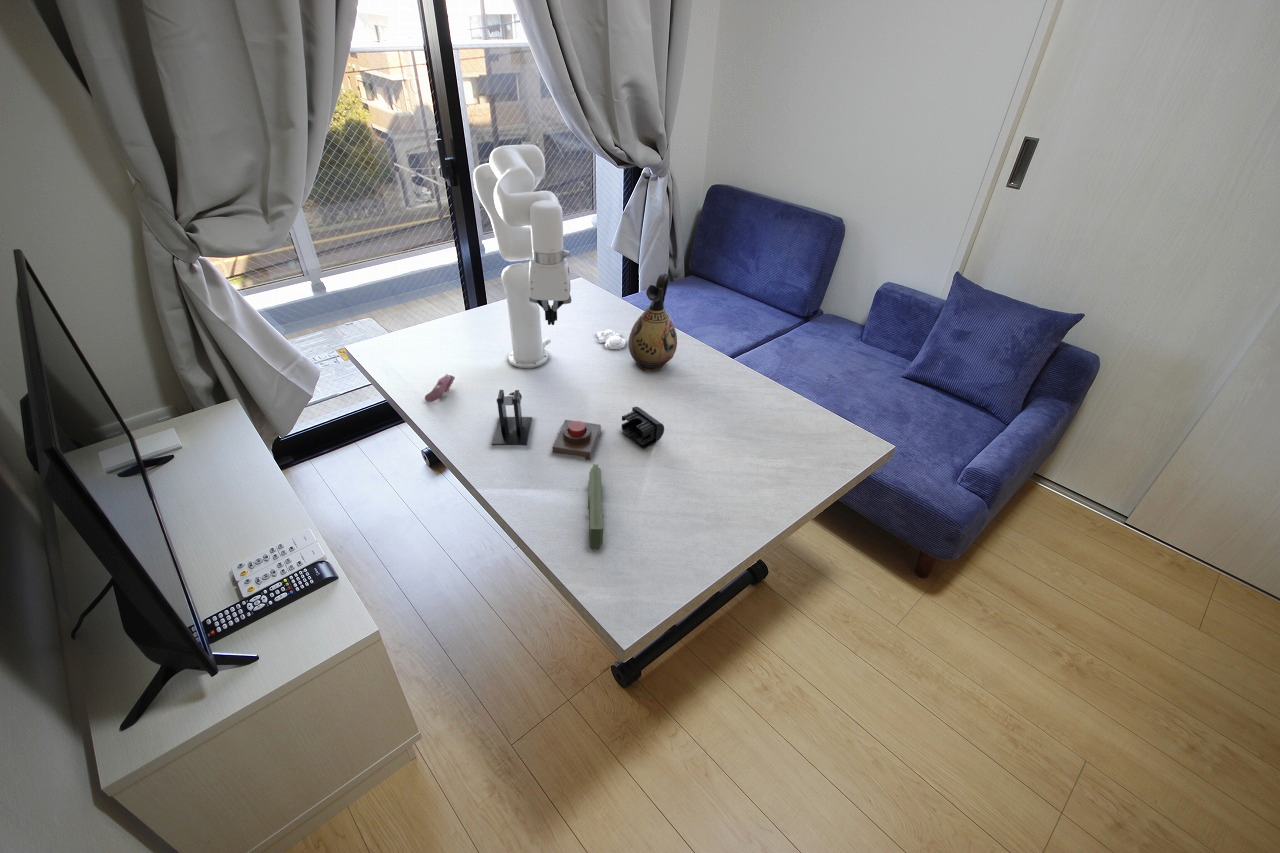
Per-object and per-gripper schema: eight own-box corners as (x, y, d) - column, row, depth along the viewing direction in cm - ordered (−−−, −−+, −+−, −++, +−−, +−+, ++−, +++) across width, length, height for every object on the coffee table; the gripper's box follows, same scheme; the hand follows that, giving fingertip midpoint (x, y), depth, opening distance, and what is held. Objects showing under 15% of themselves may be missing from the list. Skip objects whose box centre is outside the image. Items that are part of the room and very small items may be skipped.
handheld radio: (587, 549, 123) (588, 471, 142) (602, 549, 123) (601, 471, 143) (588, 528, 119) (589, 451, 138) (603, 528, 119) (602, 451, 139)
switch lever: (509, 403, 158) (509, 390, 158) (522, 403, 158) (522, 390, 158) (500, 407, 145) (500, 393, 145) (515, 407, 145) (514, 393, 145)
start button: (571, 425, 150) (570, 419, 149) (587, 427, 150) (587, 422, 149) (566, 435, 147) (566, 429, 146) (583, 437, 147) (582, 432, 146)
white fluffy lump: (615, 331, 201) (615, 323, 199) (629, 347, 193) (630, 339, 191) (592, 335, 198) (592, 328, 196) (606, 352, 190) (606, 344, 188)
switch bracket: (499, 420, 158) (494, 381, 150) (532, 420, 158) (528, 381, 150) (492, 447, 148) (486, 407, 140) (526, 447, 149) (522, 408, 141)
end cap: (663, 440, 154) (665, 420, 150) (644, 450, 150) (645, 430, 146) (639, 422, 159) (640, 403, 155) (620, 432, 156) (620, 412, 152)
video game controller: (437, 408, 163) (443, 392, 159) (422, 400, 162) (428, 384, 158) (452, 390, 171) (459, 374, 166) (439, 382, 170) (445, 366, 166)
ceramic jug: (666, 381, 177) (674, 291, 158) (620, 370, 181) (622, 282, 162) (682, 356, 190) (691, 270, 171) (639, 346, 193) (643, 261, 175)
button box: (565, 427, 156) (564, 414, 154) (600, 432, 155) (600, 419, 152) (552, 454, 147) (551, 441, 144) (590, 460, 146) (590, 447, 143)
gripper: (579, 250, 141) (580, 316, 152) (519, 248, 140) (524, 314, 151) (578, 262, 135) (579, 330, 147) (515, 260, 134) (521, 328, 146)
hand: (551, 322), depth 149 cm, fingers closed
